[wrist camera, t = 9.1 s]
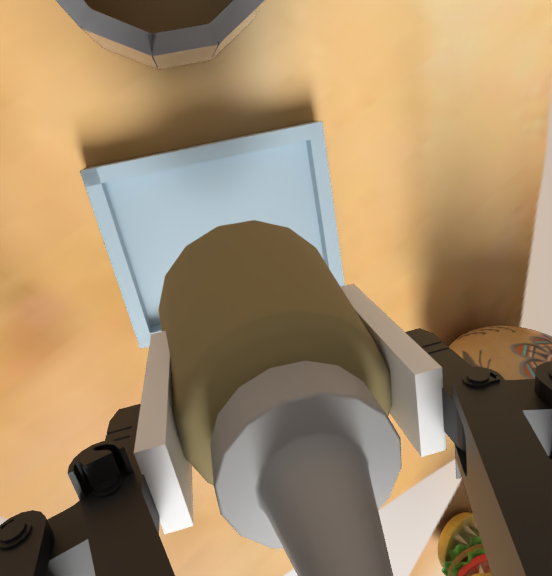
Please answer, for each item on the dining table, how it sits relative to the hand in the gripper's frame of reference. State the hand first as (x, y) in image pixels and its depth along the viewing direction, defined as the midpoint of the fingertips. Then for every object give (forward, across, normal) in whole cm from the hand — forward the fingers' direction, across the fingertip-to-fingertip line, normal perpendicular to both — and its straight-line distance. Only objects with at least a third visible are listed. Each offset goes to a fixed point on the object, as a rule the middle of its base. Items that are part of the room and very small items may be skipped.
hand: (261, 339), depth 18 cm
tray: (+17, 0, 0) cm, 17 cm away
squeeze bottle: (+7, 0, 0) cm, 7 cm away
